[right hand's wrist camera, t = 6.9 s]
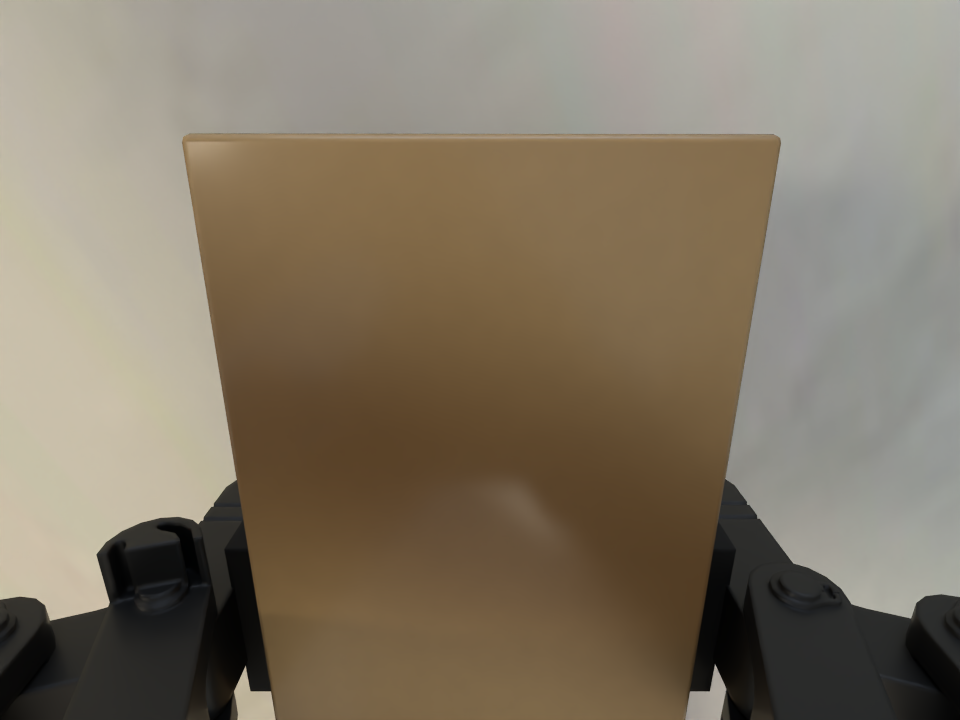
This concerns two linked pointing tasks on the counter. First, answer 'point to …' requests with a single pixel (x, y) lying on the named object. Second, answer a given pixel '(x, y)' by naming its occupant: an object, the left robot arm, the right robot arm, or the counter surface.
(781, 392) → the counter surface
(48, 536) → the counter surface
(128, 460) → the counter surface
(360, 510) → the beam
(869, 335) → the counter surface
